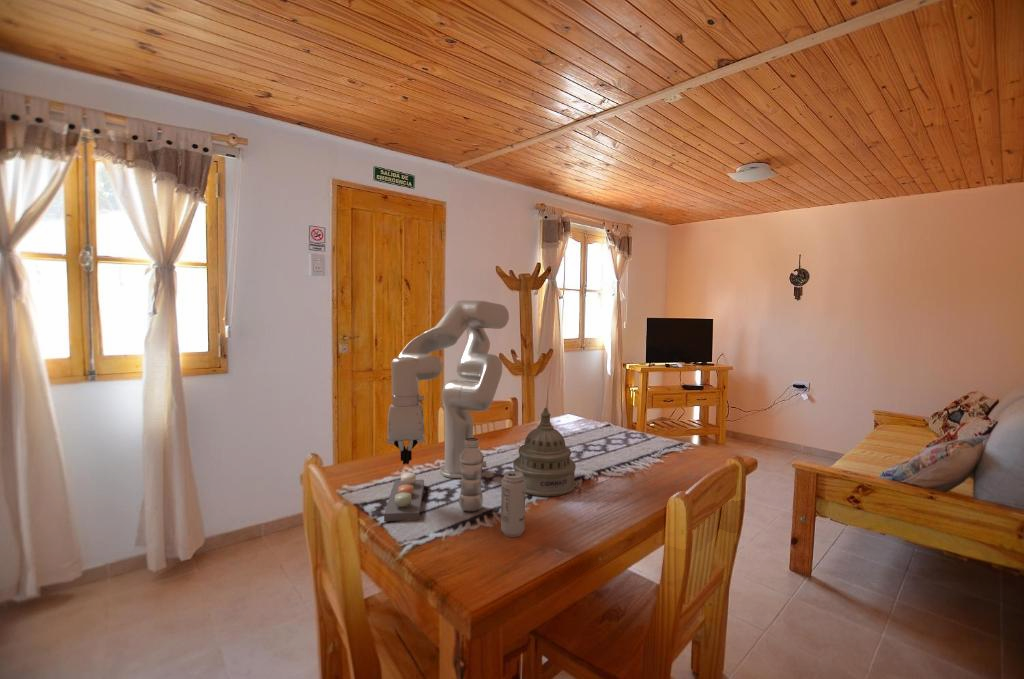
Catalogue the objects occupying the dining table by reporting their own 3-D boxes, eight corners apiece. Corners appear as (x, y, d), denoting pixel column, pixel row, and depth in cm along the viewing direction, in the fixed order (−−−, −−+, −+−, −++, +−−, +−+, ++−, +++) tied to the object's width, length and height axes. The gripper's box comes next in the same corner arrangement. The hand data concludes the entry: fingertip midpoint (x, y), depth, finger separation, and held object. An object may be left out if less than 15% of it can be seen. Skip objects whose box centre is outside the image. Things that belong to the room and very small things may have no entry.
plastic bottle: (460, 503, 133) (461, 435, 132) (484, 504, 133) (484, 436, 131) (457, 514, 127) (457, 442, 125) (481, 514, 127) (482, 443, 125)
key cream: (416, 478, 144) (416, 472, 143) (415, 484, 139) (415, 477, 139) (401, 479, 143) (401, 473, 143) (400, 484, 139) (400, 478, 138)
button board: (424, 485, 146) (424, 479, 146) (418, 519, 123) (418, 512, 123) (394, 486, 145) (394, 480, 145) (384, 521, 122) (384, 513, 122)
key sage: (412, 499, 129) (412, 492, 129) (410, 506, 124) (410, 498, 124) (395, 499, 128) (395, 492, 128) (393, 506, 124) (393, 499, 124)
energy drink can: (525, 537, 115) (526, 478, 113) (501, 538, 114) (502, 479, 113) (523, 526, 120) (524, 470, 119) (500, 526, 120) (501, 470, 119)
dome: (506, 412, 140) (522, 399, 159) (504, 492, 142) (521, 470, 161) (572, 417, 134) (581, 403, 154) (570, 501, 136) (579, 476, 156)
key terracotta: (414, 490, 136) (414, 484, 136) (413, 497, 132) (413, 490, 132) (398, 491, 136) (398, 484, 135) (397, 497, 131) (397, 490, 131)
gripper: (432, 397, 137) (432, 457, 139) (380, 398, 135) (381, 459, 136) (431, 402, 129) (432, 466, 131) (376, 404, 127) (377, 468, 129)
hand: (406, 462), depth 134 cm, fingers closed
